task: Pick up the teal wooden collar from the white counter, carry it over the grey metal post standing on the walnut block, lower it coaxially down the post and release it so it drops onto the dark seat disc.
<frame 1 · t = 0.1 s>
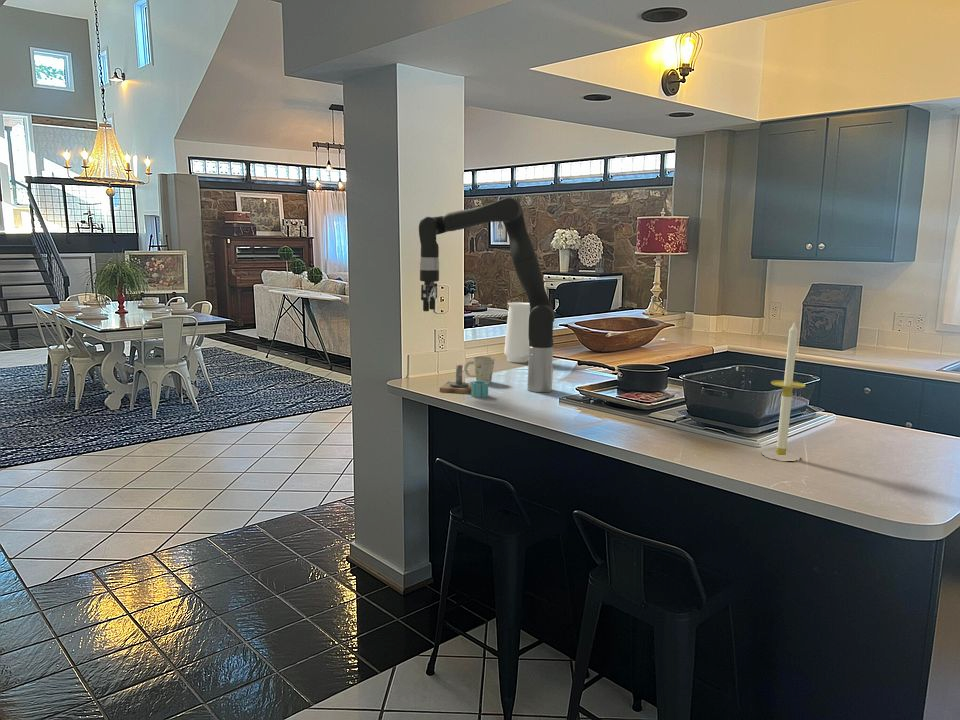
hand: (429, 310, 266), 29 cm above the countertop, fingers open, 8 cm apart
collar: (479, 395, 249), on the countertop
vase: (517, 361, 326), on the countertop
post block: (458, 389, 259), on the countertop
mug: (478, 382, 275), on the countertop
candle: (780, 457, 184), on the countertop
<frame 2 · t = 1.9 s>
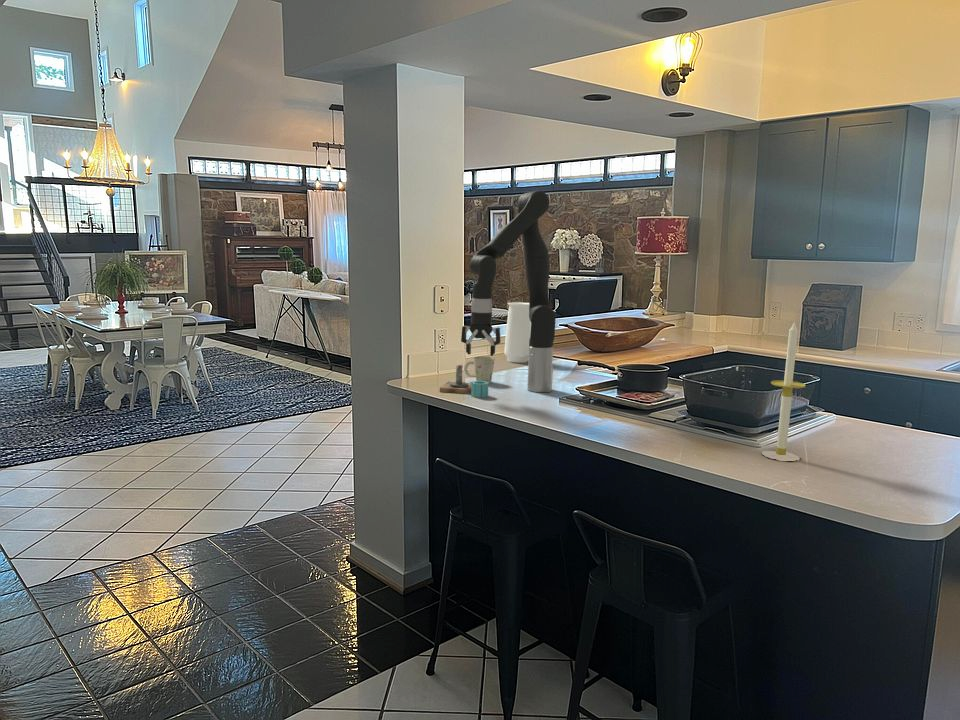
hand: (480, 354, 247), 15 cm above the countertop, fingers open, 8 cm apart
nothing on the countertop moved.
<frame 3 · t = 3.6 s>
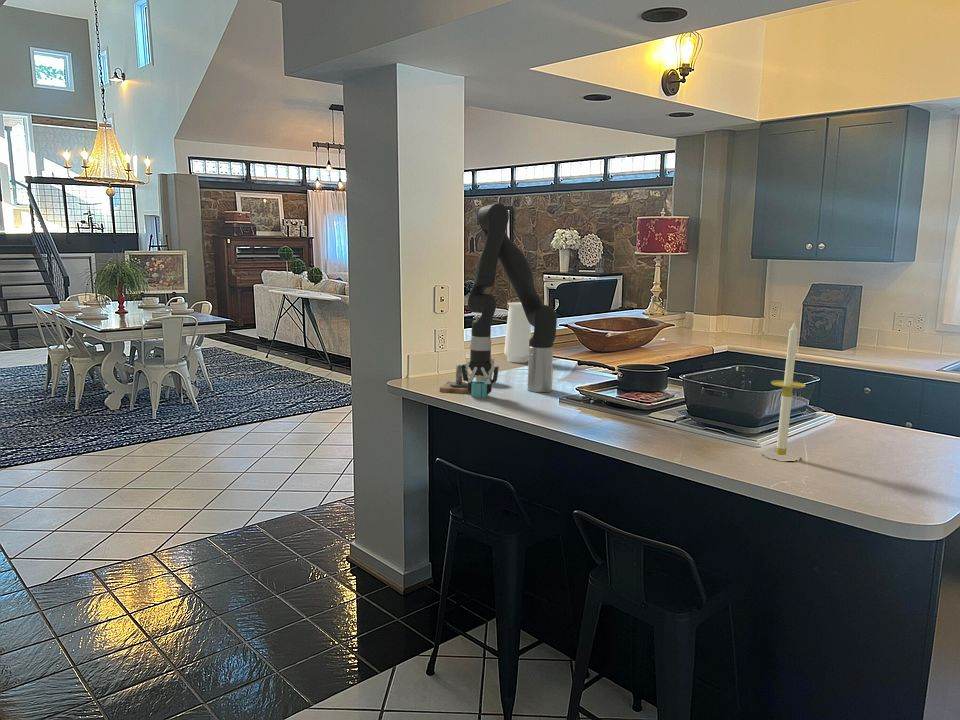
hand: (479, 392, 249), 1 cm above the countertop, fingers closed on collar, 6 cm apart
collar: (479, 395, 249), on the countertop, touching gripper
everything else where it was.
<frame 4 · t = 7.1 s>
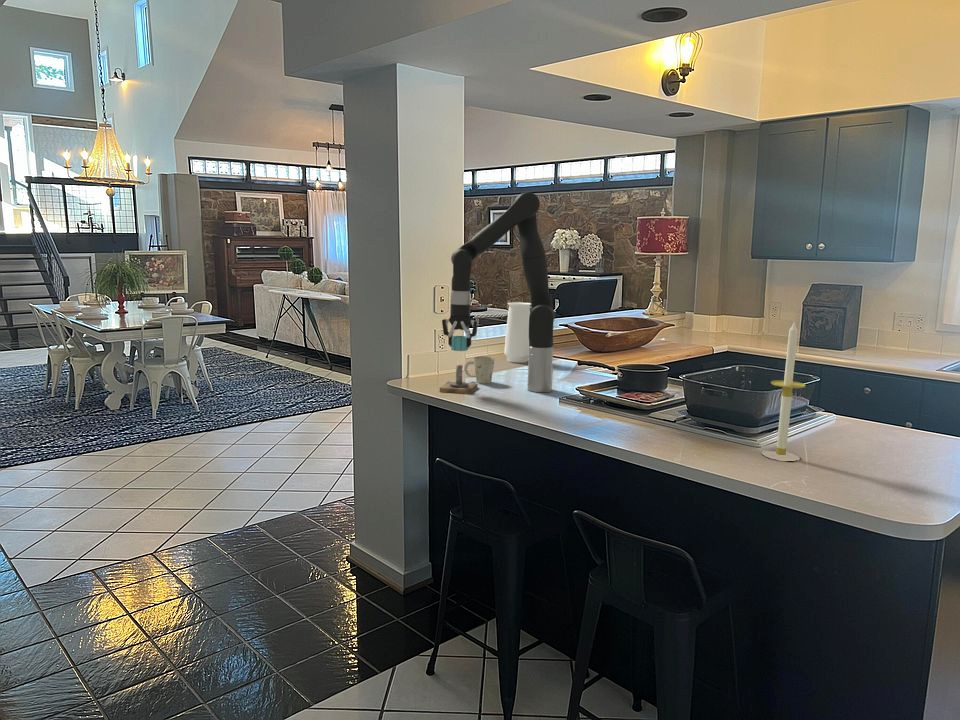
hand: (459, 346, 256), 17 cm above the countertop, fingers closed on collar, 6 cm apart
collar: (459, 349, 256), point 16 cm above the countertop, touching gripper
everything else where it was.
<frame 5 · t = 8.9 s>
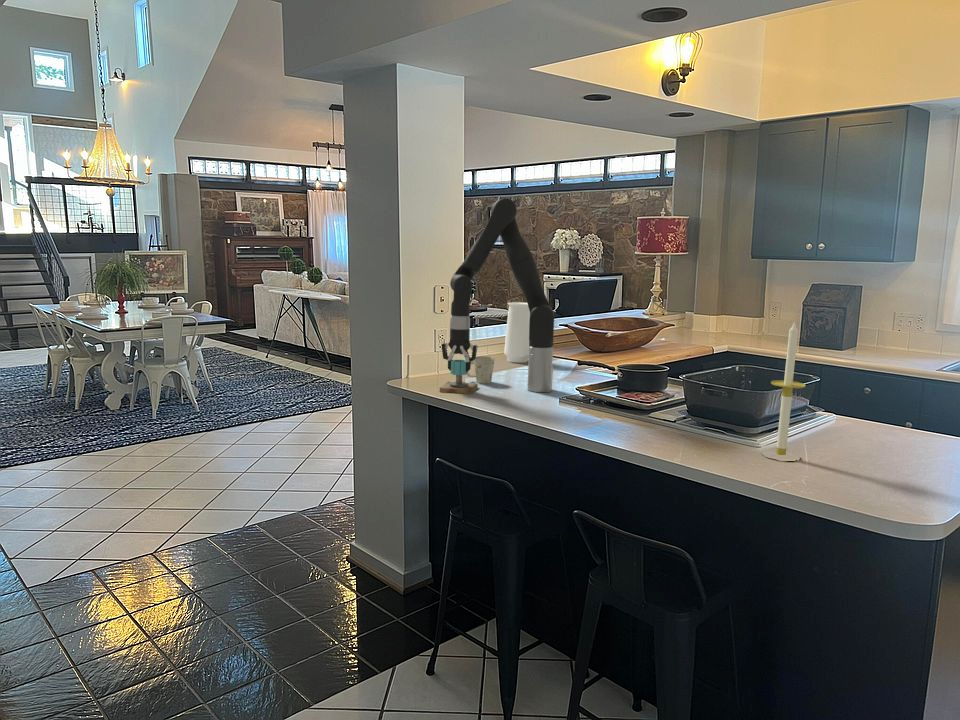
hand: (459, 370, 258), 7 cm above the countertop, fingers closed on collar, 6 cm apart
collar: (458, 373, 258), point 6 cm above the countertop, touching gripper
everything else where it was.
when the fingers open (6 cm above the countertop, at t = 10.4 s): collar drops 2 cm, resting on post block.
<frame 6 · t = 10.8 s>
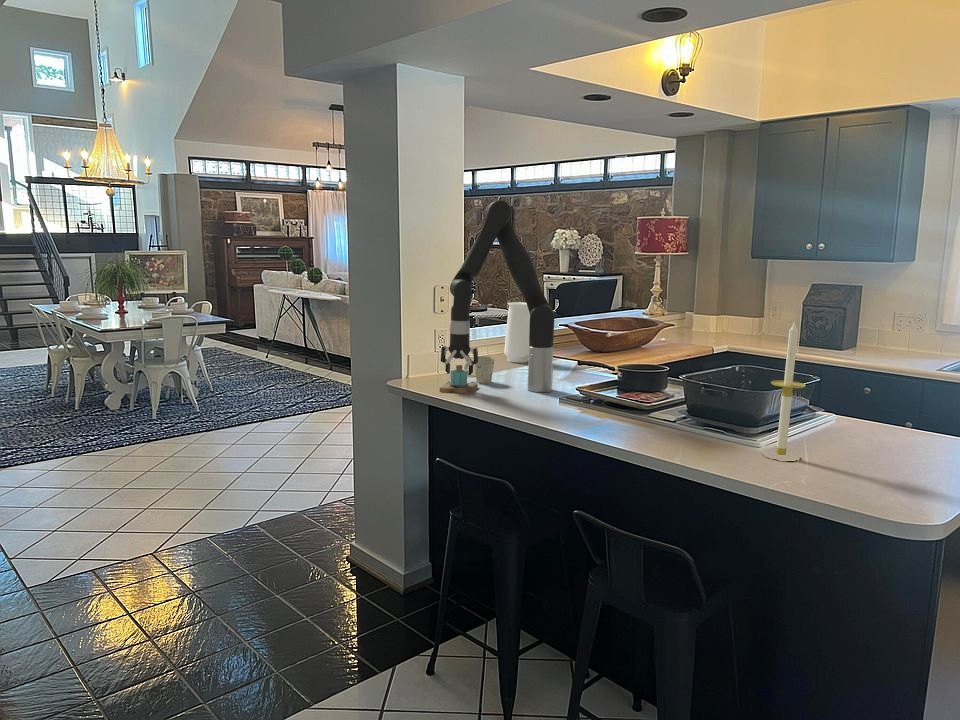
hand: (459, 374, 258), 6 cm above the countertop, fingers open, 8 cm apart
collar: (458, 383, 259), point 2 cm above the countertop, touching post block
everything else where it was.
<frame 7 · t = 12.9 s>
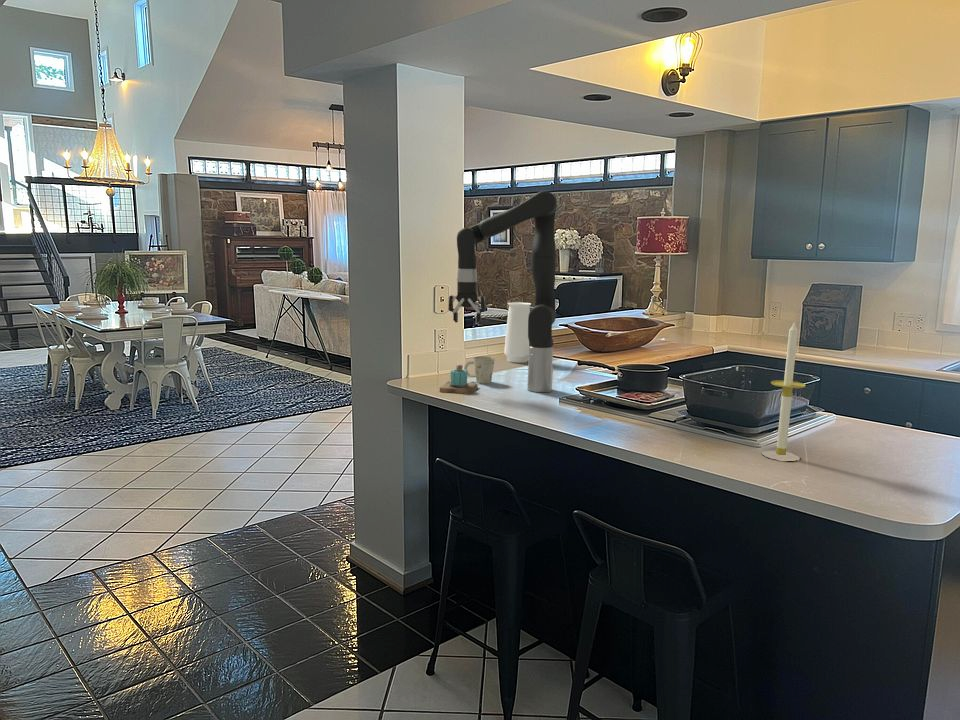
hand: (467, 322, 261), 25 cm above the countertop, fingers open, 8 cm apart
nothing on the countertop moved.
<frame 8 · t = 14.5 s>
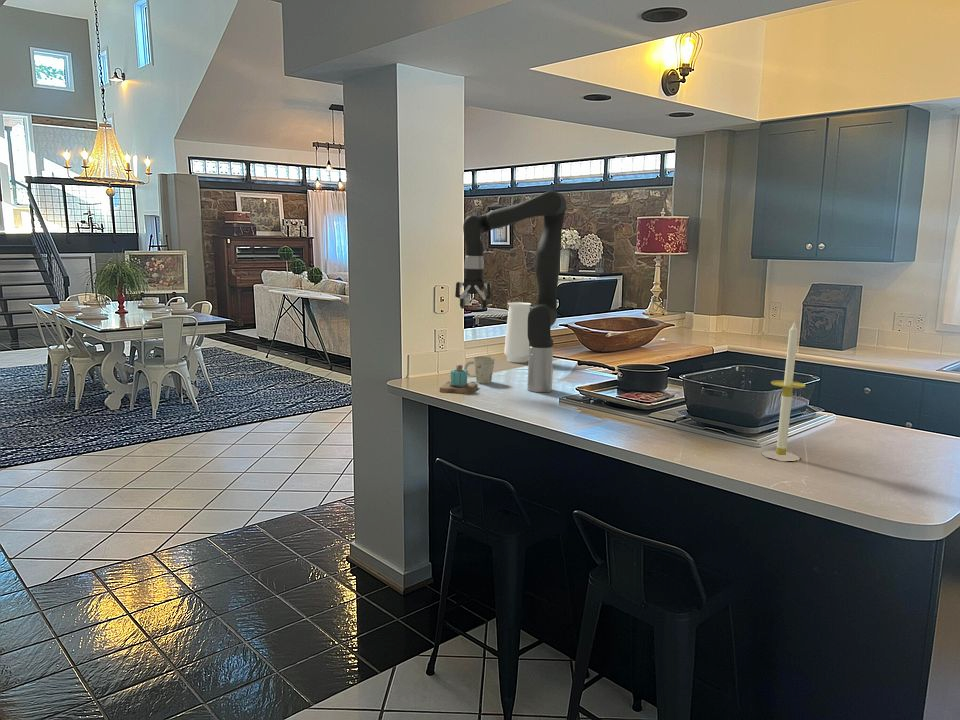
hand: (473, 308, 266), 30 cm above the countertop, fingers open, 8 cm apart
nothing on the countertop moved.
at the end: collar 0.1 cm from the post block (horizontally); collar point 2.3 cm above the countertop; the gripper is holding nothing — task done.
